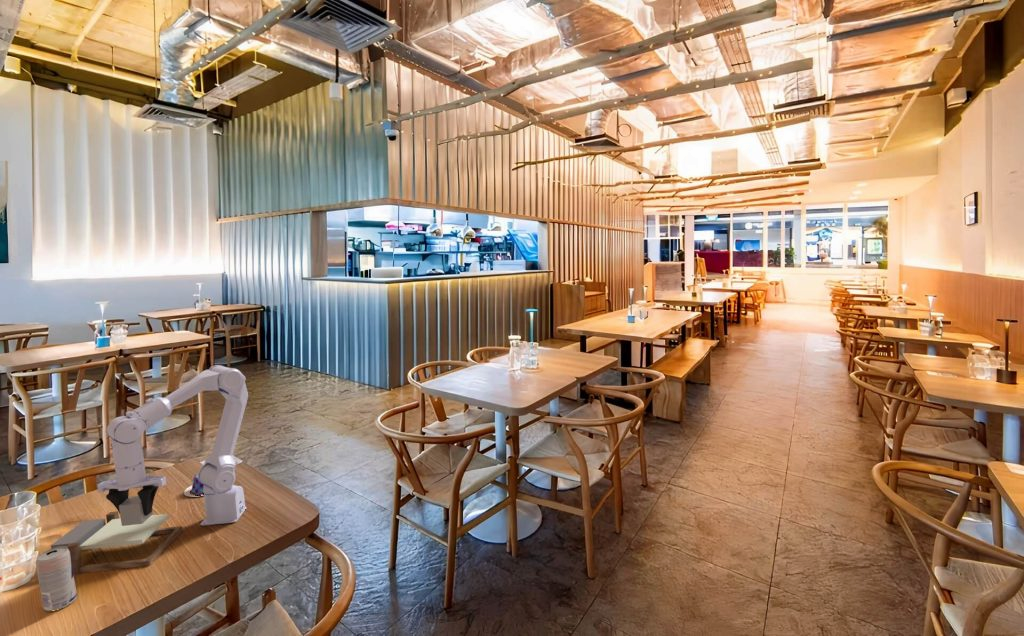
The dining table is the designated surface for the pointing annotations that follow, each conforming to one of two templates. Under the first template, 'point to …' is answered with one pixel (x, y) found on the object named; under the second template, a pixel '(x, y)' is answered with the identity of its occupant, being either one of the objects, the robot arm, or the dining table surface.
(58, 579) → the energy drink
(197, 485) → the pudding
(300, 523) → the dining table surface
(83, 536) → the flap
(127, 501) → the stone
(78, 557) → the frame
